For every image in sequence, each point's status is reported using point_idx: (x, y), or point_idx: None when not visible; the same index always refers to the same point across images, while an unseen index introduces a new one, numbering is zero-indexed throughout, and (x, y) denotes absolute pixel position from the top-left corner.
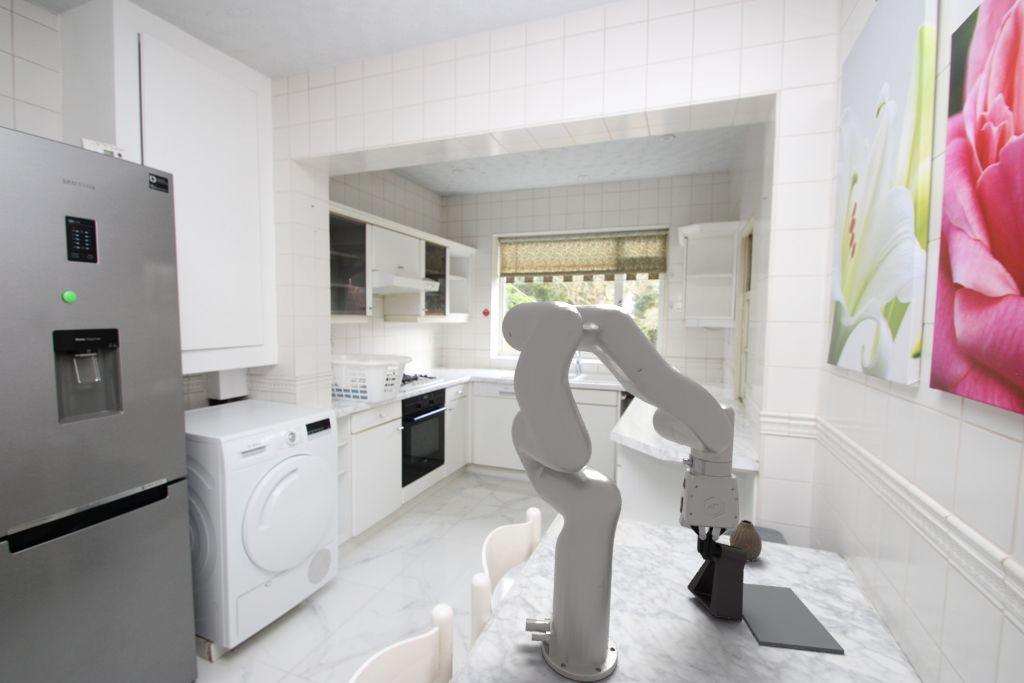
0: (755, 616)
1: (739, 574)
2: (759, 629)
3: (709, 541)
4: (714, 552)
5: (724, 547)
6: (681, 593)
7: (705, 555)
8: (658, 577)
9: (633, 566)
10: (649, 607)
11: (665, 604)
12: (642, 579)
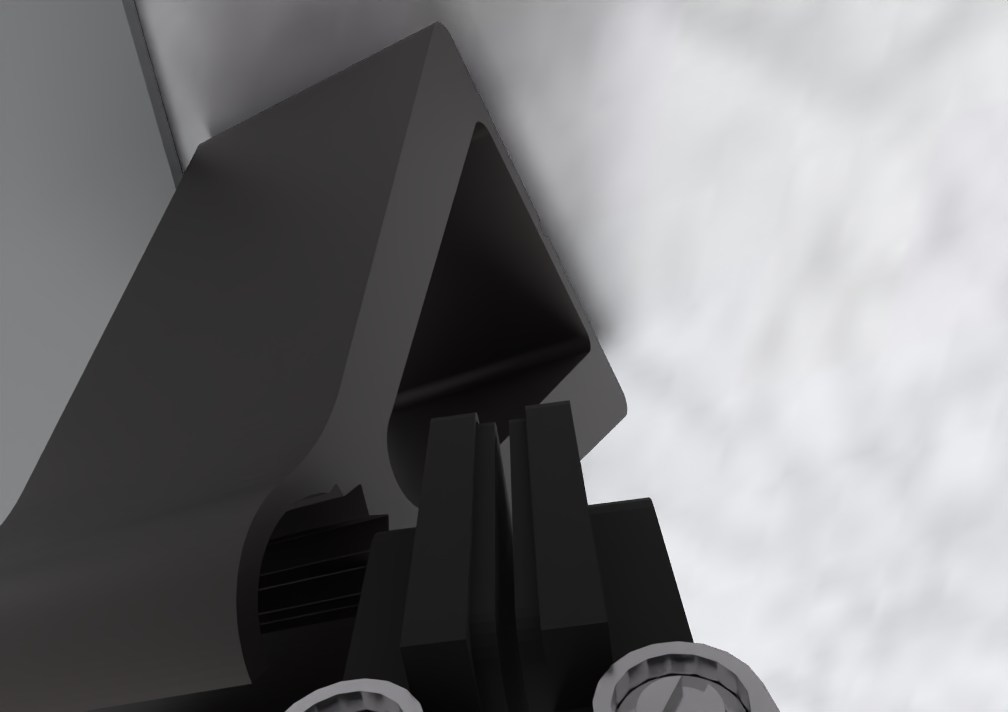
0: (79, 216)
1: (90, 429)
2: (61, 27)
3: (496, 642)
4: (386, 537)
5: (182, 646)
6: (657, 390)
7: (557, 436)
8: (805, 549)
9: (983, 635)
10: (1002, 101)
11: (837, 192)
12: (953, 487)
